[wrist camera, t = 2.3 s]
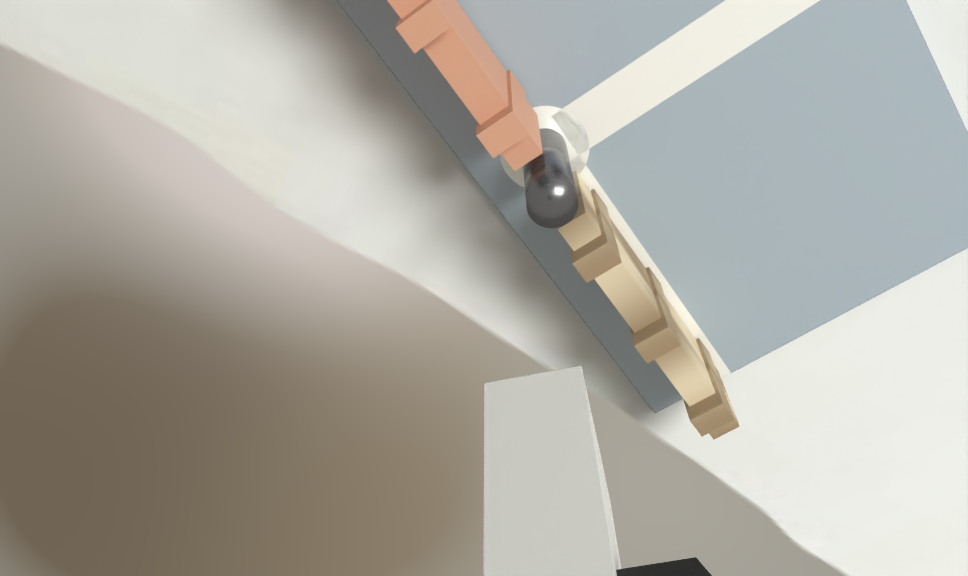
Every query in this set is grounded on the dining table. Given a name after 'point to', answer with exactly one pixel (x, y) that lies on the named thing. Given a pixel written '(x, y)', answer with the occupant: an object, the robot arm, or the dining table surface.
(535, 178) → the hinge post
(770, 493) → the dining table surface
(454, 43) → the swing panel
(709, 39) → the card
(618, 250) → the fixed panel
